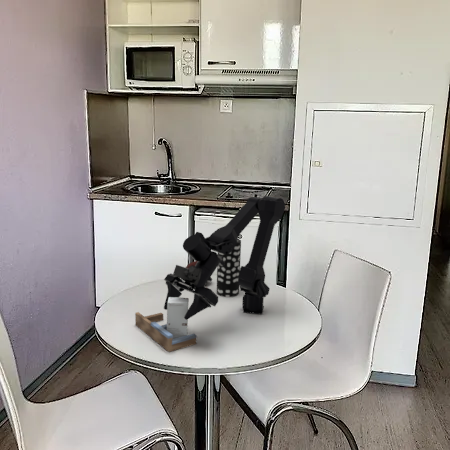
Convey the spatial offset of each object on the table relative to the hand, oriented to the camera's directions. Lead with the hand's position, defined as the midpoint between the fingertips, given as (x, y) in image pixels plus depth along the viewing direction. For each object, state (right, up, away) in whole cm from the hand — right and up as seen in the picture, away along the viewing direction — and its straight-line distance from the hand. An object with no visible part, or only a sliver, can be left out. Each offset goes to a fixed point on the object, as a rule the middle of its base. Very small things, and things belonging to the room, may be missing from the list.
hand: (174, 313), depth 141 cm
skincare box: (0, -8, +3) cm, 8 cm away
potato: (+3, +2, +49) cm, 49 cm away
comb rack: (-4, -7, +6) cm, 10 cm away
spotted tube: (+15, 0, +41) cm, 44 cm away
